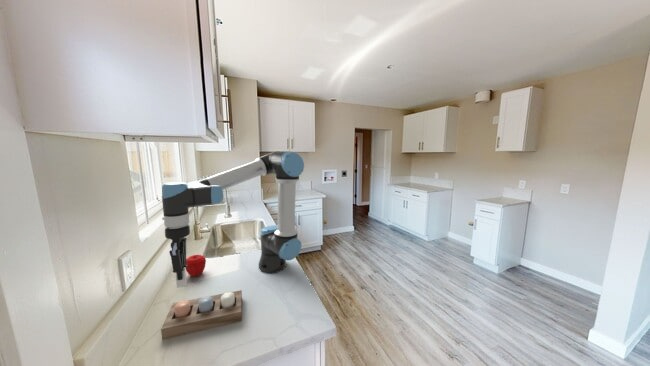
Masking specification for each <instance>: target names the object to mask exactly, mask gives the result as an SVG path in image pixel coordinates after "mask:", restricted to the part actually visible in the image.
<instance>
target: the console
mask: <svg viewBox="0 0 650 366" xmlns="http://www.w3.org/2000/svg"><path fill="white" fill-rule="evenodd" d="M231 292H232V293H234V297H235V306H233V307H229V308H224V309H222V306H221V296H222V295H223V294H225V293H226V292H225V293H219V294H215V295H213V294H212V295H210V296H211V297H212V298H213V309H214V310H213V311H209V312H205V313H200V314H199V305H198V302H199V300H200V299H201V298H202V297H198V298H193V299H189V300H187V299H186V301H189V302H190V310H191V314H190V316H186V317H181V318H176V319H175V310H174V306H175V305H176V304H177V303H179V302H180V301H178V302H173V303H172V305H171V307H170V308H169V311H168V313H167V315H166V317H165V320H164V321H163V324H162V326H161V327H160V332H161V339H162V340H165V339H170V338H175V337H177V336H182V335H186V334H190V333H196V332H200V331H203V330H208V329H213V328H216V327H220V326H226V325H230V324H235V323H239V322H242V313H243V312H242V311H243V310H242V309H243V293H242V290H241V289H240V290H236V291H231Z"/></svg>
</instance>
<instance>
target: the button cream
mask: <svg viewBox="0 0 650 366" xmlns="http://www.w3.org/2000/svg"><path fill="white" fill-rule="evenodd" d="M232 292H233V291H228V292H225V294H224V293H222V294H223V295H222V296H221V306H222V308H221V309H224V308H229V307H233V306H235V297H234V293H232Z"/></svg>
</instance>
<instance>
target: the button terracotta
mask: <svg viewBox="0 0 650 366" xmlns="http://www.w3.org/2000/svg"><path fill="white" fill-rule="evenodd" d="M178 302H179V303H177V304H176V305H175V306H174V310H175V319H176V318H181V317H186V316H190V314H191V310H190V302H189V301H187V300H181V301H178Z"/></svg>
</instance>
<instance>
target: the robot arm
mask: <svg viewBox="0 0 650 366" xmlns="http://www.w3.org/2000/svg"><path fill="white" fill-rule="evenodd" d="M304 168H305V162H304V159H303V158H302V156H301V155H300V154H299V153H298V152H295V151H278V150H277V151H273V152H270V153H267V154H265V155H262V156H259V157H257V158H256V159H254V161H251V162H248V163H245V164H243V165H240V166H236V167H233V168H231V169H229V170H226V171H223V172H220V173H216V174H215V175H212V176H209V177H207V178H203V179H200V180H197V181H195V180H193V181H189V182H188V183H187V182H181V181H178V182H177V181H175V182H174V181H172V182H166V183H164V184H163V185H161V202H162V212H163V217H162V218H161V219H162V221H164V222H163V223H164V224H163V225H164V237H165V238H166V239H168V240H171V242H170V248H171V250H169V255H170V260H171V264H172V273H173V274H175V280H176V281H175V282H176V288H182V287H186V286H187V278H186V277H187V276H186V275H187V273H186V268H185V267H187V266H188V265H185V264H186V259H187V240H188V238H187V237H188V236H189V235H190V234H191V230H190V212H189V209H190V208H196V207H205V206H214V205H219V204H221V203H222V202H224V201H223V200H224V190H226V189H229V188H232V187H234V186H236V185H237V186H238V185H239V184H241V183H244V182H246V181H249V180H252V179H254V178H257V177H259V176H263V177H265V176H267V175H271V174H273V175H274V174H275V178H274V179H275V180H276V182H278V183H277V184H278V190H277V191H278V192H277V193H278V194H277V199H278V200H277V224H276V225H275V224H274V225H267V226H264V227H263V228H261V229H260V247H261V248H260V250H261V252H260V253H261V254H260V257H259V261H258V270H259V269H260V270H261V271H260V270H259V271H260V272H263V273H265V272H266V273H265V274H267V273H268V274H272V273H273V272H274V273H278V272H280V270H281V269H282V270H284V269H285V268H286V266H287V261H292V260H294V259H295V258H297V257H298V255H299V254H300V252H301V251H302V245H303V244H302V242H301V240H300V239H299V238H298V230H297V229H296V227H295V226H296V224H295V223H296V195H297V191H296V186H297V182H298V181H299V180H300V175H302V173H303V172H304V170H305V169H304ZM285 265H286V266H285ZM284 267H285V268H284ZM283 268H284V269H283ZM282 270H281V271H282ZM277 271H278V272H277Z"/></svg>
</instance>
